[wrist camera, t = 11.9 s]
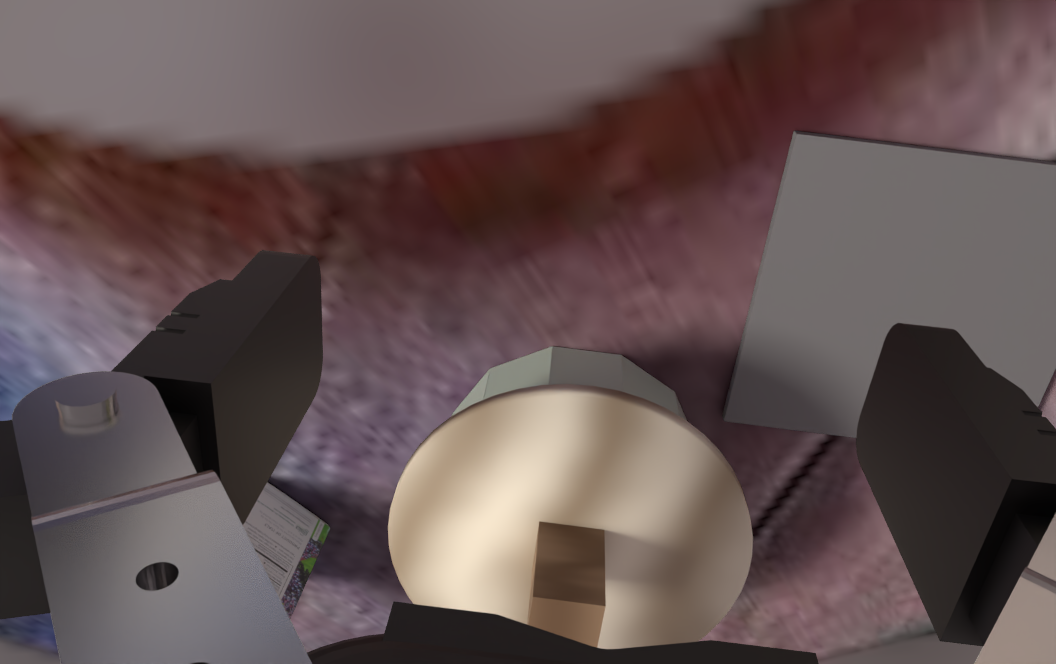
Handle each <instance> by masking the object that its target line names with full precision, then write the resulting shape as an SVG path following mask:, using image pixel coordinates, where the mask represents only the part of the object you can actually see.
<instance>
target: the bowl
mask: <svg viewBox="0 0 1056 664" xmlns="http://www.w3.org/2000/svg"><path fill="white" fill-rule="evenodd" d="M556 384H574V385H588V386H597V387H602V388H608V389H613V390H618V391H622V392H625V393H628V394H632V395H635V396H638V397H641V398H644V399H646V400H649V401H651V402H653V403H655V404H658V405H660V406H662V407H665V408H666V409H668V410H670V411H672V412H673V413H675V414H677V415H678V416H680V417H682V418H683V419H685V420H686V417H685V415H684V413H683V410H682V408H681V405H680V403H679V401H678V398H677V396H676V394H675V391H673V390H671V389H670V388H669V387H667V386H666V385H664V384H663V383H661V382H660V381H658V380H657V379H655V378H654V377H653V376H651V375H650V374H648V373H647V372H645V371H644V370H642V369H641V368H640V367H638V366H637V365H635V364H634V363H632V362H631V361H629V360H628V359H627V358H625V357H624V356H622V355H618V354H610V353H602V352H594V351H586V350H578V349H570V348H562V347H554V346H552V347H549V348H546V349H543V350H541V351H538V352H535V353H532V354H529V355H527V356H524V357H521V358H518V359H515V360H513V361H510V362H507V363H504V364H501V365H499V366H496V367H493V368H490V369H489V370H488V372H487V373H486V374H485V375H484V376H483V378H482V379H481V380H480V381H479V382H478V384H477V385H476V386H475V387H474V388H473V390H472V391H471V392H470V393H469V394H468V396H467V397H466V398H465V399H464V400H463V402H462V403H461V404H460V405H459V406H458V408H457V409H456V410H455V411H454V412H453V414H452V416H453V415H455V414H456V413H458V412H460V411H462V410H463V409H465V408H467V407H469V406H470V405H472V404H475V403H477V402H479V401H482V400H484V399H487V398H489V397H491V396H494V395H497V394H501V393H505V392H508V391H512V390H515V389H520V388H527V387H533V386H539V385H556Z"/></svg>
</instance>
